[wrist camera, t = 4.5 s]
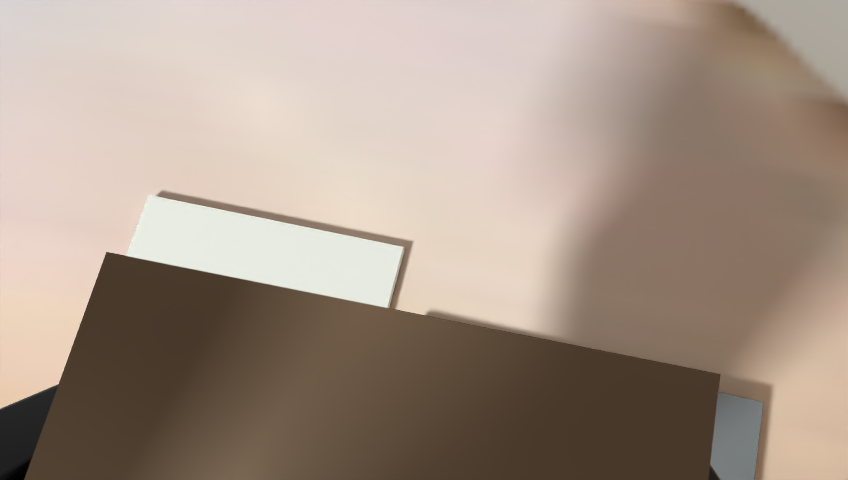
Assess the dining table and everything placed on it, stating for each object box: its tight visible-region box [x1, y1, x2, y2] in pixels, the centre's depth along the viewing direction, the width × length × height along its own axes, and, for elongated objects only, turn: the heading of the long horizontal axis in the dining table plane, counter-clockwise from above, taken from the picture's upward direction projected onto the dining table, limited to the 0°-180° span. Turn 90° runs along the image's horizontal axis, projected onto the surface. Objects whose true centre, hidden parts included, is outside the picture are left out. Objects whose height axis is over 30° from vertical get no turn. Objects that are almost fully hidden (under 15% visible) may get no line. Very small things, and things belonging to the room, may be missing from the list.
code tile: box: [126, 195, 405, 308], centre depth 23 cm, size 9×9×1 cm
